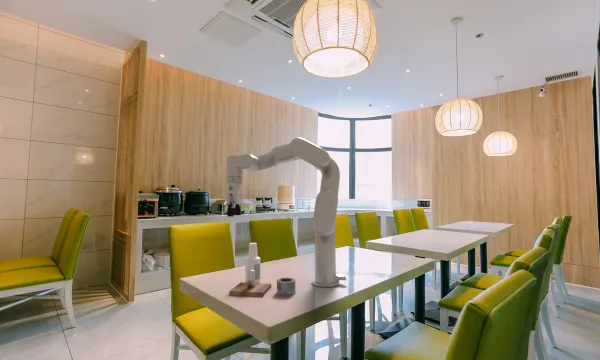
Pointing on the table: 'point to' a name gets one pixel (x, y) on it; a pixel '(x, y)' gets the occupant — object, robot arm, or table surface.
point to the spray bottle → (253, 263)
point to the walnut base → (250, 289)
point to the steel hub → (286, 286)
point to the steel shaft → (251, 278)
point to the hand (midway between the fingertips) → (234, 215)
